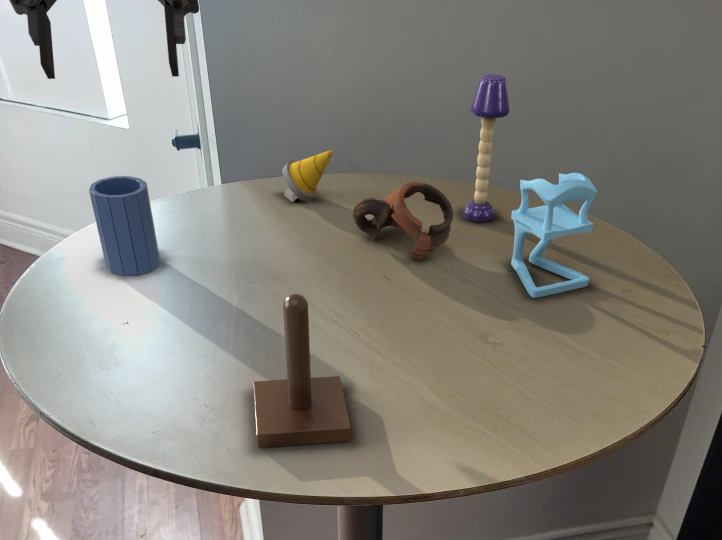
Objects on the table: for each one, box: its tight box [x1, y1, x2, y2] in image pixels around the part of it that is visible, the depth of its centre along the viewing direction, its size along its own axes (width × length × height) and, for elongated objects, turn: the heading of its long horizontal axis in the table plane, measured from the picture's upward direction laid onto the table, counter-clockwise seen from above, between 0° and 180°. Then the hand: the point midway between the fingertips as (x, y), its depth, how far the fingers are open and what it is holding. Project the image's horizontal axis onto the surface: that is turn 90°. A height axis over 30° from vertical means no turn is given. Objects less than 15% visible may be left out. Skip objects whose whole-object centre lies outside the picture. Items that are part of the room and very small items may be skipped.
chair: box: [510, 172, 598, 299], centre depth 87 cm, size 8×8×12 cm
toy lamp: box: [462, 73, 510, 223], centre depth 98 cm, size 5×5×17 cm
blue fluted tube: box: [88, 175, 161, 277], centre depth 88 cm, size 6×6×9 cm
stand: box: [252, 293, 352, 449], centre depth 66 cm, size 8×8×12 cm
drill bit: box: [281, 149, 335, 203], centre depth 104 cm, size 5×5×10 cm
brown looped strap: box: [352, 181, 454, 261], centre depth 94 cm, size 12×10×8 cm
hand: (111, 71), depth 86 cm, fingers open, 13 cm apart
